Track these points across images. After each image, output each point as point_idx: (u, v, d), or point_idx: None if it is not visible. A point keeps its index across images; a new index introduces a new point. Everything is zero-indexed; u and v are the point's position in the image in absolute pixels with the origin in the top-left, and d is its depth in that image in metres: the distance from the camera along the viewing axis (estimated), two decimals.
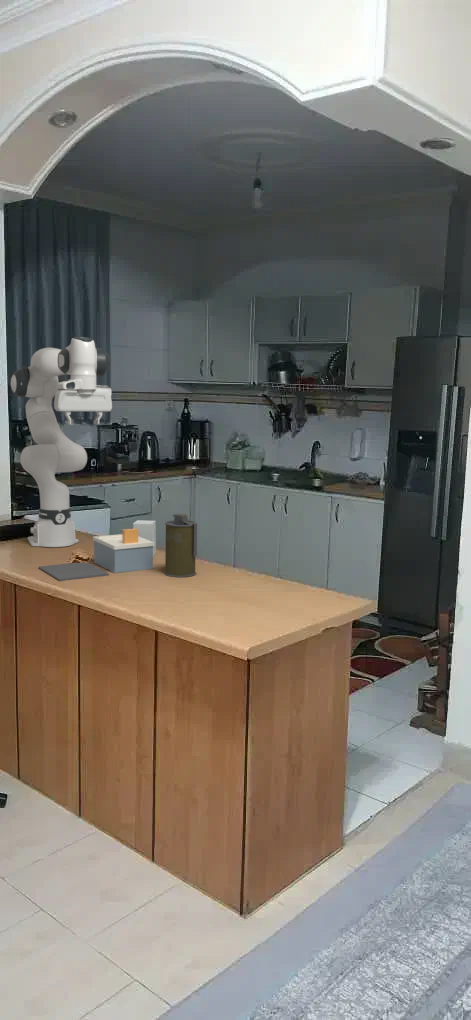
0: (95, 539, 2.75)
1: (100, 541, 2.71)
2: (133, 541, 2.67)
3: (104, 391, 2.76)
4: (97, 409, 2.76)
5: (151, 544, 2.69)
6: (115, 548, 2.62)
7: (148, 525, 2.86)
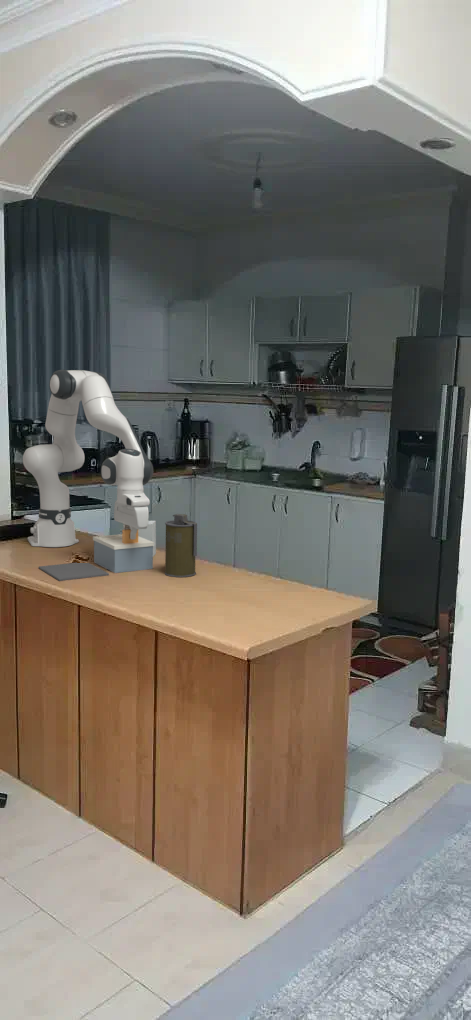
0: (95, 539, 2.75)
1: (100, 541, 2.71)
2: (133, 541, 2.67)
3: None
4: None
5: (151, 544, 2.69)
6: (115, 548, 2.62)
7: (148, 525, 2.86)
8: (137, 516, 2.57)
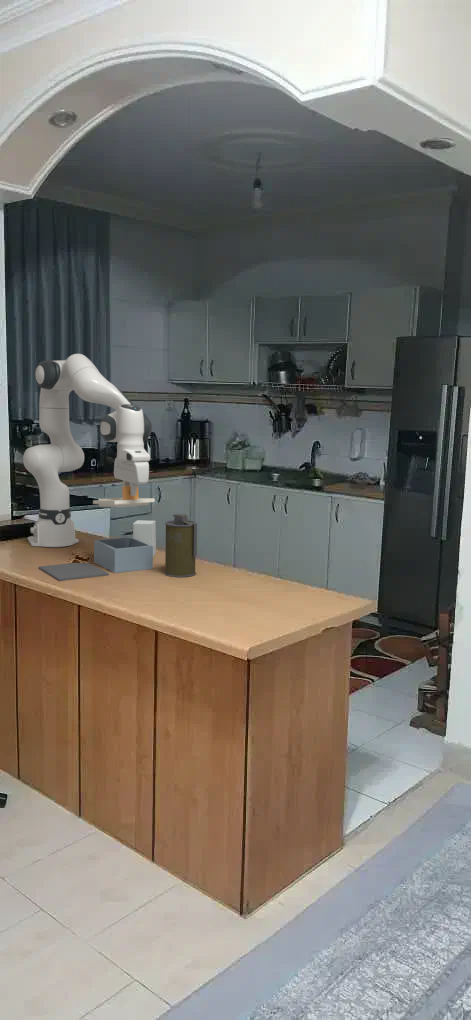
0: (95, 502, 2.73)
1: (100, 502, 2.69)
2: (133, 498, 2.65)
3: None
4: None
5: (152, 500, 2.66)
6: (115, 503, 2.59)
7: (148, 525, 2.86)
8: (137, 471, 2.55)
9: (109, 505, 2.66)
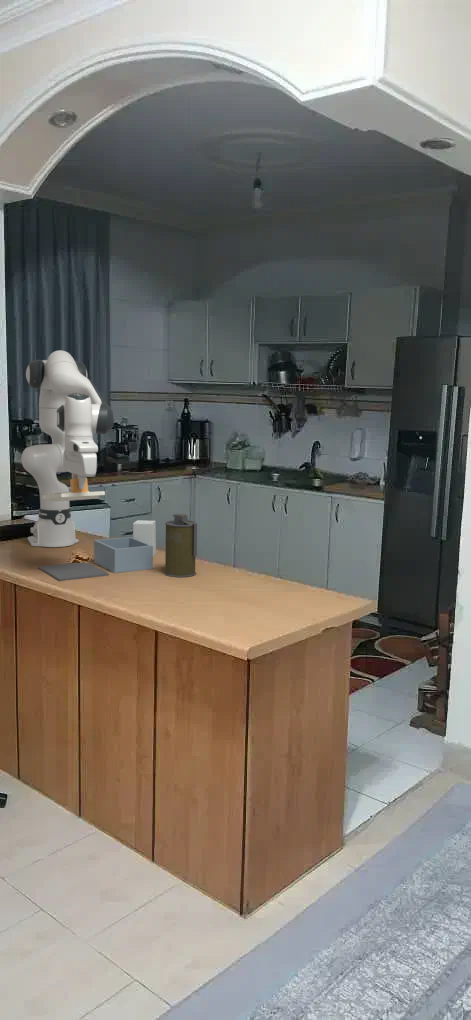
0: (44, 497, 2.61)
1: (49, 496, 2.58)
2: (82, 490, 2.54)
3: None
4: None
5: (102, 493, 2.55)
6: (62, 496, 2.48)
7: (148, 525, 2.86)
8: (84, 463, 2.44)
9: (57, 499, 2.55)
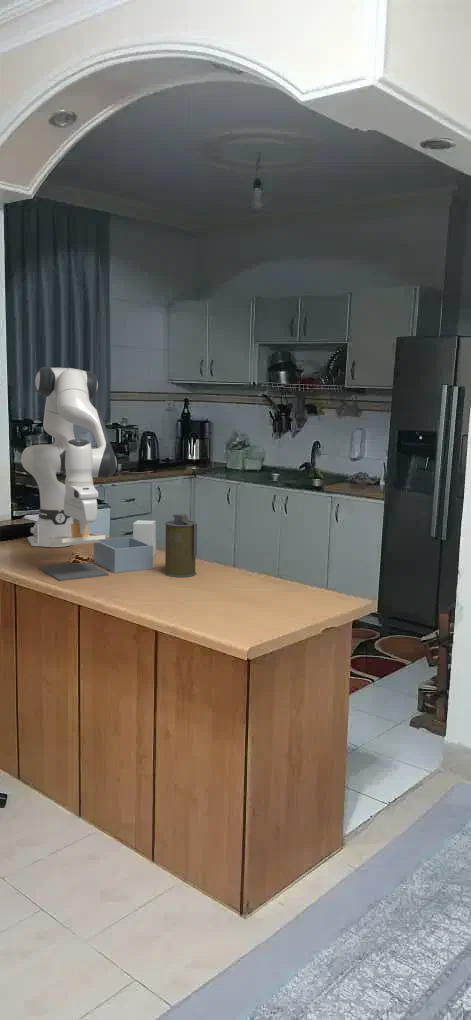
0: (45, 541, 2.64)
1: (50, 540, 2.60)
2: (83, 535, 2.56)
3: None
4: None
5: (102, 537, 2.57)
6: (63, 541, 2.50)
7: (148, 525, 2.86)
8: (85, 509, 2.46)
9: (58, 544, 2.57)
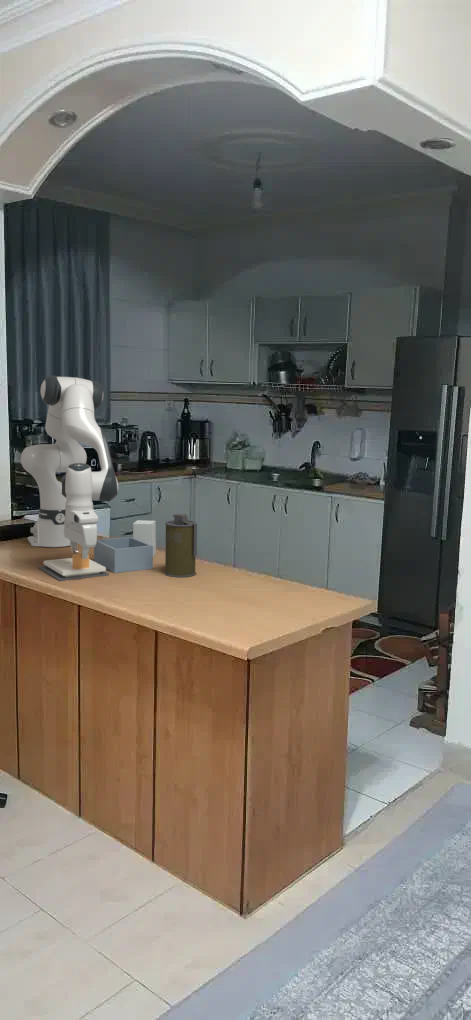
0: (45, 563, 2.65)
1: (50, 566, 2.61)
2: (84, 566, 2.57)
3: None
4: None
5: (102, 569, 2.58)
6: (64, 574, 2.51)
7: (148, 525, 2.86)
8: (84, 534, 2.47)
9: None
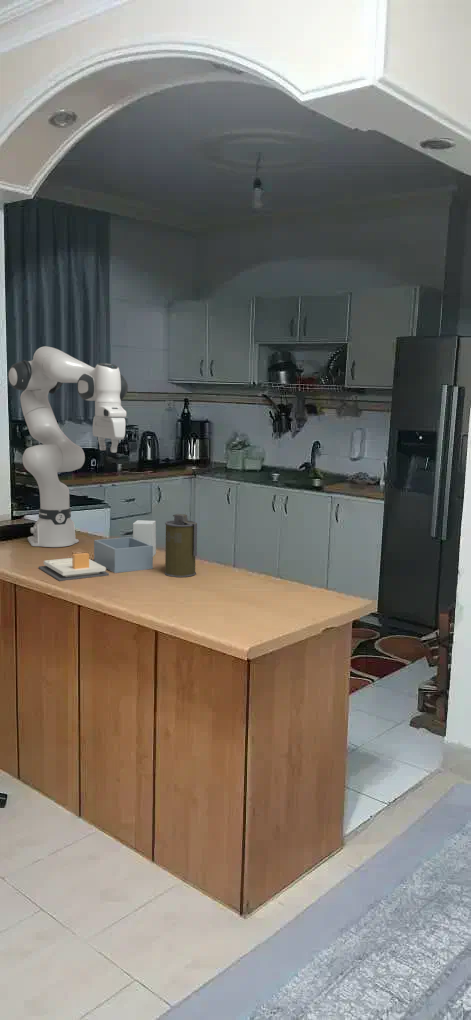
0: (45, 563, 2.65)
1: (50, 566, 2.61)
2: (84, 566, 2.57)
3: None
4: None
5: (102, 569, 2.58)
6: (64, 574, 2.51)
7: (148, 525, 2.86)
8: (114, 426, 2.64)
9: None
